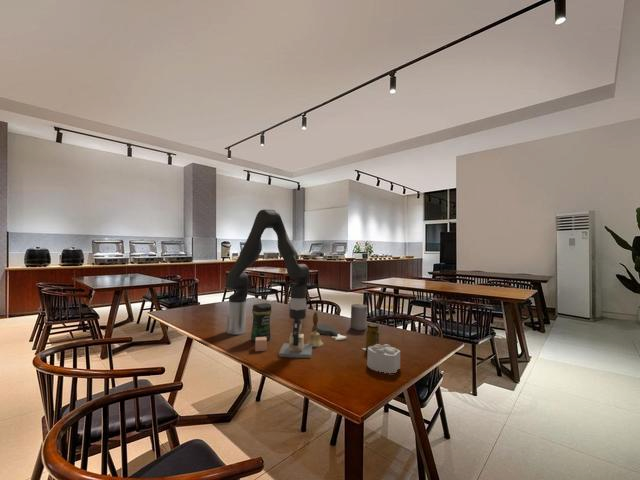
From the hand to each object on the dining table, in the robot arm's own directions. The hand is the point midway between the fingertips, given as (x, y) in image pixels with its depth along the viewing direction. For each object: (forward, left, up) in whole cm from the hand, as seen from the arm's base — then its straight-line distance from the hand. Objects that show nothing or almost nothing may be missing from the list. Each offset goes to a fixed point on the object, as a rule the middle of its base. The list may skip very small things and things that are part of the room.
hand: (296, 342), depth 142 cm
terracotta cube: (-17, +2, -4) cm, 18 cm away
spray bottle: (+16, +31, -5) cm, 35 cm away
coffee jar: (-20, +16, -4) cm, 26 cm away
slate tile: (0, 0, -4) cm, 4 cm away
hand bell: (+8, +12, -5) cm, 15 cm away
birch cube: (0, 0, -3) cm, 3 cm away
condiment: (+36, +6, -5) cm, 37 cm away
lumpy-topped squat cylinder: (+37, -14, -5) cm, 40 cm away
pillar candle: (+33, +46, -4) cm, 57 cm away
